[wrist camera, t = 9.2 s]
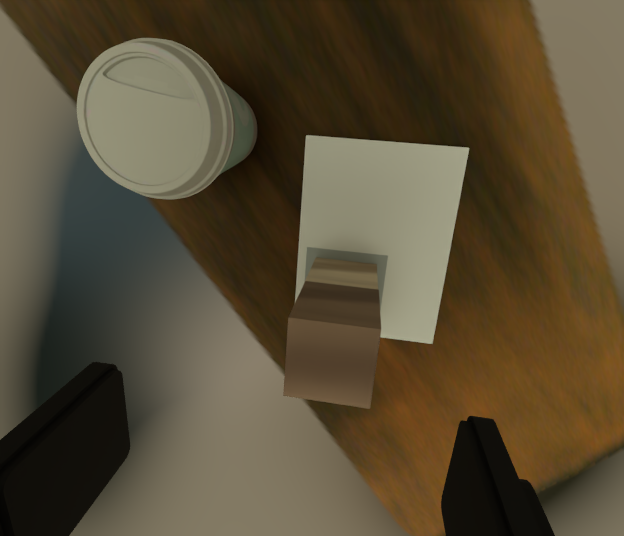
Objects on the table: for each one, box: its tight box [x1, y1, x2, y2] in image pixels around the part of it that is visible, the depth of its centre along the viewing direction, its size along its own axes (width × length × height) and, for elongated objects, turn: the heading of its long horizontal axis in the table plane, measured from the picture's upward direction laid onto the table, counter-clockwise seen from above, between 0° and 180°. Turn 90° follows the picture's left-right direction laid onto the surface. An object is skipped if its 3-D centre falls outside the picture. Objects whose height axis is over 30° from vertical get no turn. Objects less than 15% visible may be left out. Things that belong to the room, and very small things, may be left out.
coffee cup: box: [77, 38, 257, 199], centre depth 26 cm, size 8×9×12 cm
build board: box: [295, 135, 469, 344], centre depth 33 cm, size 16×12×1 cm
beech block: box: [305, 257, 378, 289], centre depth 31 cm, size 5×5×6 cm
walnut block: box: [284, 281, 381, 409], centre depth 25 cm, size 5×5×6 cm
